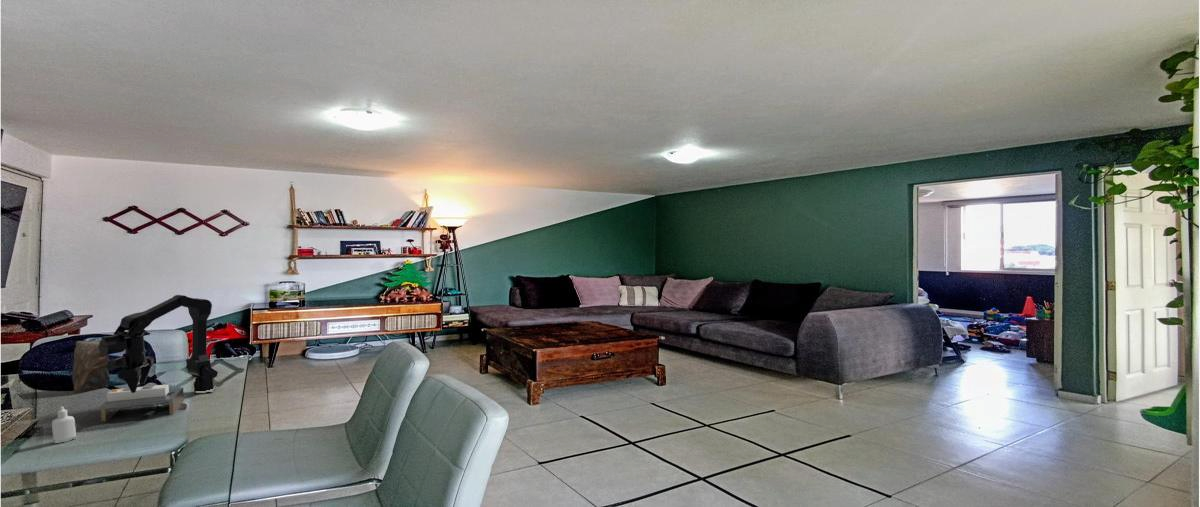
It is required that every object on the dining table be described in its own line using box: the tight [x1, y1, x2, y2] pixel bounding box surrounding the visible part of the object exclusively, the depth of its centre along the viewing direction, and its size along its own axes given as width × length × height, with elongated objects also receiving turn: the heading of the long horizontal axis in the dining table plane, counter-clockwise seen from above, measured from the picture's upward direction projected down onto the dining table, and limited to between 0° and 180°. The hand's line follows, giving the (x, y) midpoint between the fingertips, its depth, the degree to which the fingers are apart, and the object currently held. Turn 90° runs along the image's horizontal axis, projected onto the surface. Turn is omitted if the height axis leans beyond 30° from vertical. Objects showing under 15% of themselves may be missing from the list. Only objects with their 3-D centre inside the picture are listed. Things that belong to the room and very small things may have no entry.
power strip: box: [106, 384, 170, 409], centre depth 224 cm, size 18×4×7 cm, turn 112°
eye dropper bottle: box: [51, 406, 77, 440], centre depth 198 cm, size 4×6×12 cm
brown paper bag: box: [71, 339, 111, 395], centre depth 249 cm, size 13×13×20 cm
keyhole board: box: [100, 386, 185, 423], centre depth 224 cm, size 22×14×6 cm, turn 112°
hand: (137, 388), depth 223 cm, fingers open, 9 cm apart
